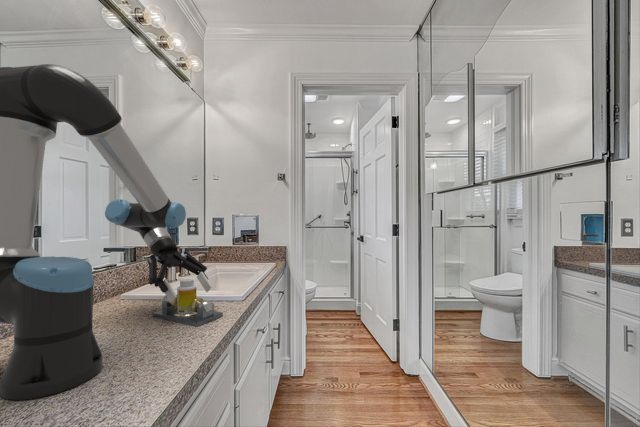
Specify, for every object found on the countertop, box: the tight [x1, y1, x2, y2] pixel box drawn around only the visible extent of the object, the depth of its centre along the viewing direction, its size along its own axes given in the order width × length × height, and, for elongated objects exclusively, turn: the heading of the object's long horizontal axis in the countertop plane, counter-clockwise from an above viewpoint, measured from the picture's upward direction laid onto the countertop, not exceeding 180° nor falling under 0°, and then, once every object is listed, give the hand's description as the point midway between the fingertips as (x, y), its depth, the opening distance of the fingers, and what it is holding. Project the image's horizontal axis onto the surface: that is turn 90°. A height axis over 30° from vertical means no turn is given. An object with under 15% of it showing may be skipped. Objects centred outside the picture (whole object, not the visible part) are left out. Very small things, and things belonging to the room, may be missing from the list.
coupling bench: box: [151, 294, 224, 328], centre depth 96 cm, size 10×20×6 cm, turn 64°
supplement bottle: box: [176, 278, 197, 314], centre depth 96 cm, size 6×6×10 cm
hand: (192, 294), depth 95 cm, fingers open, 13 cm apart
